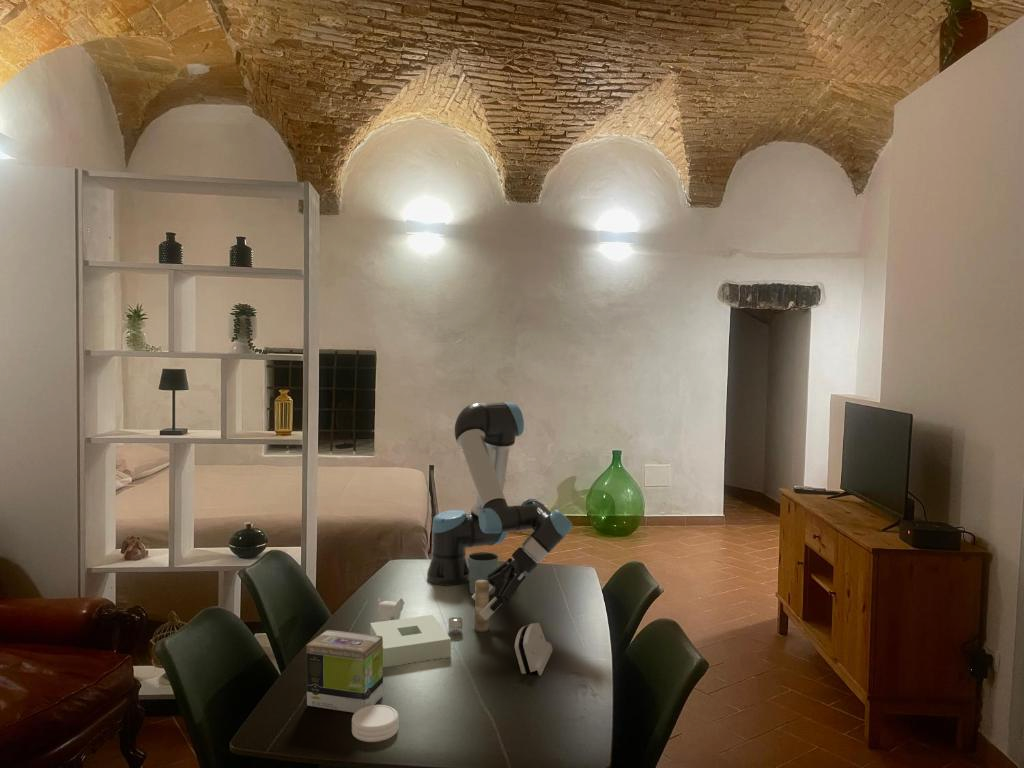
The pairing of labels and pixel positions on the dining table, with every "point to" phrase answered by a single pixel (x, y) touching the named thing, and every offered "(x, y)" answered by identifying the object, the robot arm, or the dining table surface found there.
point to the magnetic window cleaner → (532, 649)
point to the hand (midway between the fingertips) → (478, 608)
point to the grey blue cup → (481, 568)
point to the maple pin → (481, 604)
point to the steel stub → (455, 626)
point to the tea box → (344, 670)
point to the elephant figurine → (389, 609)
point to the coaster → (375, 723)
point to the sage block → (412, 640)
